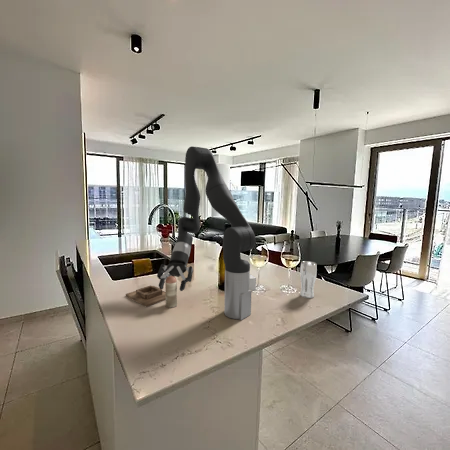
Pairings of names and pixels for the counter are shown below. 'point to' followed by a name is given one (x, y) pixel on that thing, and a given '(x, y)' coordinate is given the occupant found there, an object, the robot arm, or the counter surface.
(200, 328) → the counter surface
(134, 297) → the cradle
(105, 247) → the counter surface
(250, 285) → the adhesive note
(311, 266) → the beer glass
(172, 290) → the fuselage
